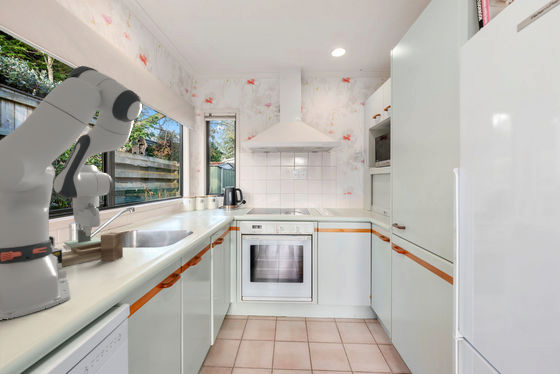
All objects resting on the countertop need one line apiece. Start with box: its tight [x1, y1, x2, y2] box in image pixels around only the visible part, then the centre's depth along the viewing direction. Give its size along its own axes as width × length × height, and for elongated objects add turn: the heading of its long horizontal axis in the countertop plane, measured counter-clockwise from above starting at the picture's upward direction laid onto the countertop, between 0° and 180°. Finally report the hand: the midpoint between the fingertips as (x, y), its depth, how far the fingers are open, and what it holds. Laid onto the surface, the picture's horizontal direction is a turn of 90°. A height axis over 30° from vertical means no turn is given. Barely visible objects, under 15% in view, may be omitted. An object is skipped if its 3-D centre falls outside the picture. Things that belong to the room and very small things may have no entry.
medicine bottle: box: [49, 235, 63, 269], centre depth 88 cm, size 7×7×12 cm
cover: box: [63, 229, 101, 249], centre depth 108 cm, size 11×11×6 cm
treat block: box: [100, 232, 124, 262], centre depth 99 cm, size 5×5×10 cm
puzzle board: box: [62, 243, 101, 268], centre depth 100 cm, size 12×18×4 cm, turn 143°
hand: (87, 235), depth 107 cm, fingers closed
